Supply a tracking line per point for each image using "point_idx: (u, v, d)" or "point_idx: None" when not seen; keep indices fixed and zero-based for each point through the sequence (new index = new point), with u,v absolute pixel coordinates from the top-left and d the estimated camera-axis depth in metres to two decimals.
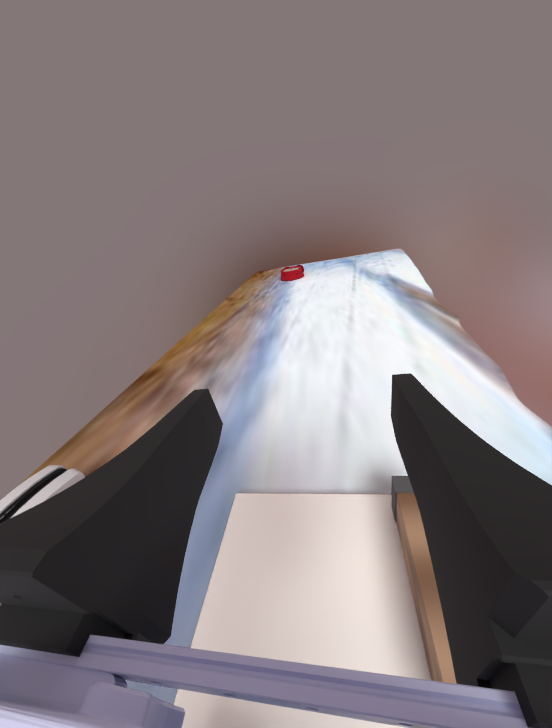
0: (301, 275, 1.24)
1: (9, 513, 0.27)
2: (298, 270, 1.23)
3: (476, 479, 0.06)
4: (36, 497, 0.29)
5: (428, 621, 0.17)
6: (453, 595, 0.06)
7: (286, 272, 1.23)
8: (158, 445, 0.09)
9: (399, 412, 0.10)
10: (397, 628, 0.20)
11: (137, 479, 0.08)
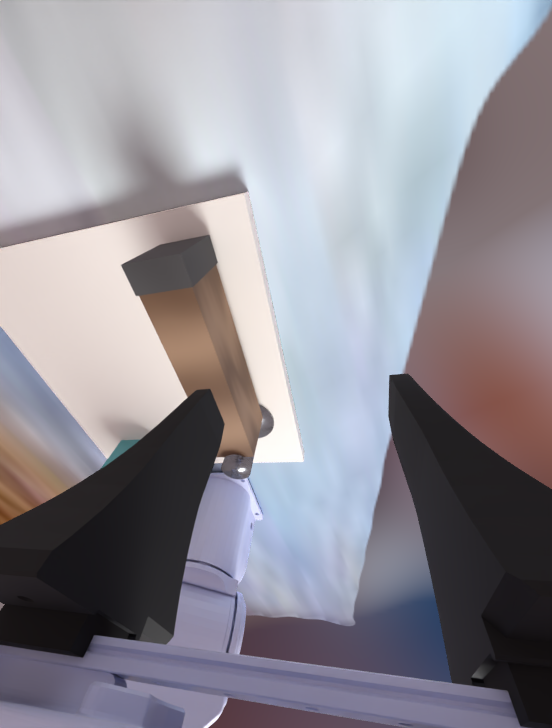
0: None
1: None
2: None
3: (471, 479, 0.06)
4: None
5: None
6: (448, 595, 0.06)
7: None
8: (161, 445, 0.09)
9: (396, 412, 0.10)
10: None
11: (140, 479, 0.08)
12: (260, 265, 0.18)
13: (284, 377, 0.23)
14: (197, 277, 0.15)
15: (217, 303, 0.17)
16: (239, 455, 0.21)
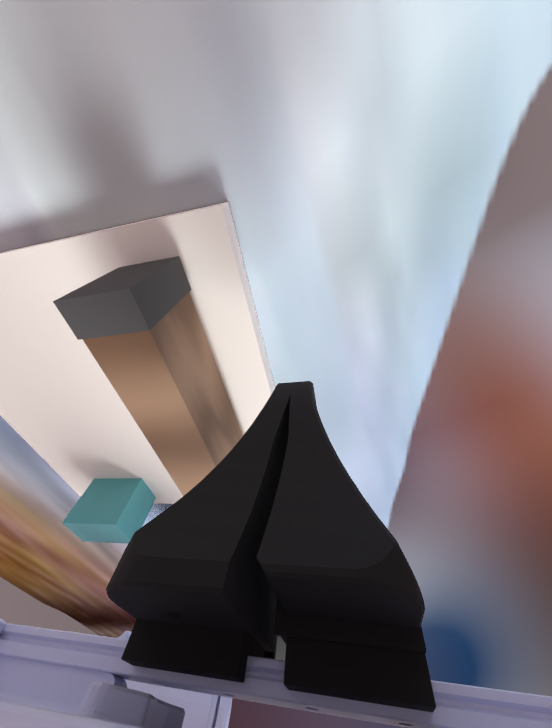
0: None
1: None
2: None
3: (298, 479, 0.06)
4: None
5: None
6: None
7: None
8: (272, 441, 0.08)
9: None
10: None
11: (265, 479, 0.07)
12: (245, 292, 0.14)
13: None
14: (157, 315, 0.11)
15: (191, 341, 0.14)
16: None
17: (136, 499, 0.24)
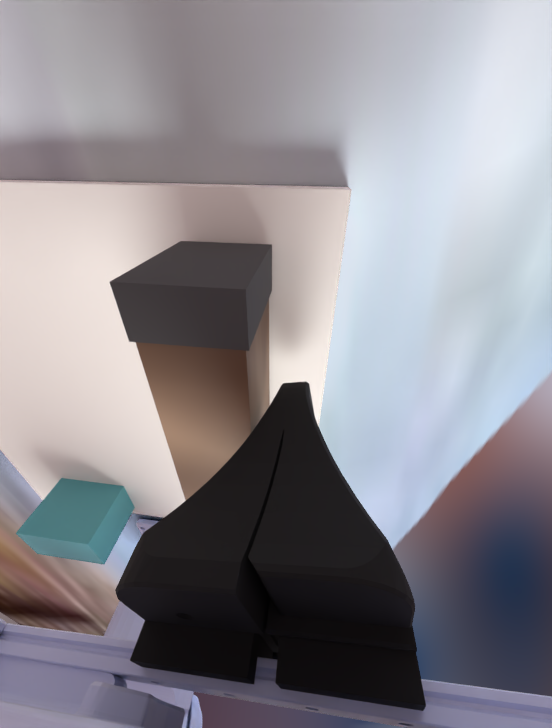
0: None
1: None
2: None
3: (292, 480, 0.06)
4: None
5: None
6: None
7: None
8: (279, 441, 0.08)
9: None
10: None
11: (273, 479, 0.07)
12: (334, 305, 0.11)
13: None
14: (255, 328, 0.08)
15: (262, 358, 0.10)
16: None
17: (114, 511, 0.20)
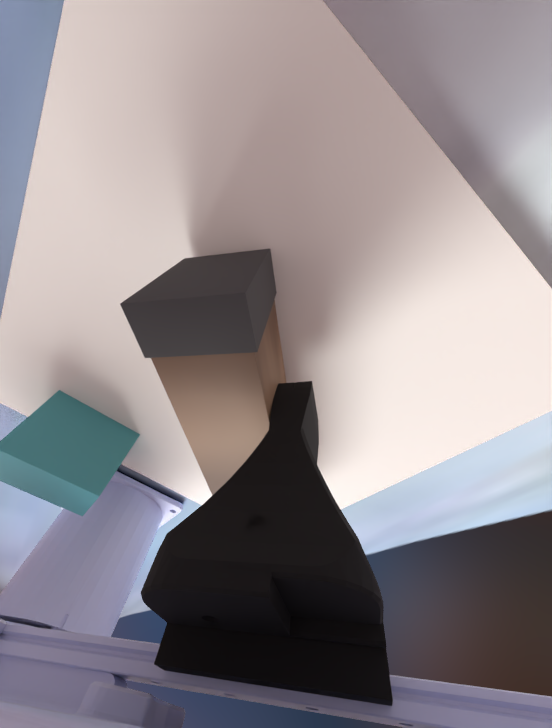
0: None
1: None
2: None
3: (272, 480, 0.06)
4: None
5: None
6: None
7: None
8: (297, 441, 0.08)
9: None
10: None
11: None
12: None
13: (373, 492, 0.18)
14: (261, 330, 0.08)
15: (275, 360, 0.11)
16: None
17: None
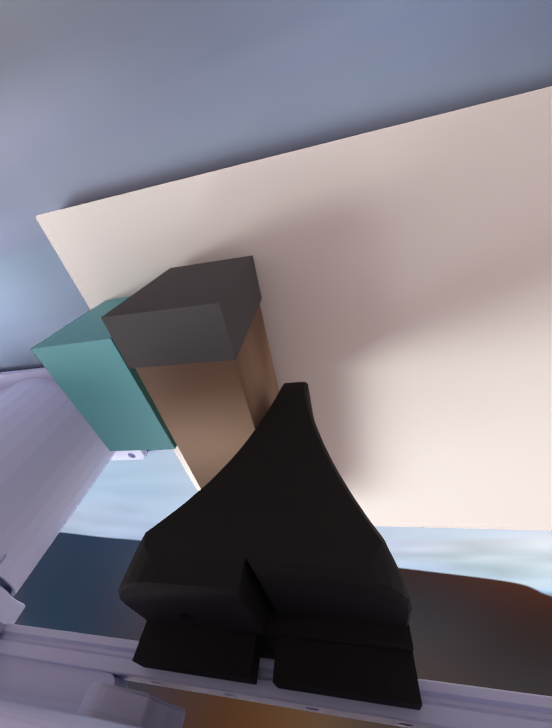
0: None
1: None
2: None
3: (290, 479, 0.06)
4: None
5: None
6: None
7: None
8: (280, 441, 0.08)
9: None
10: (379, 463, 0.16)
11: None
12: None
13: None
14: (241, 337, 0.08)
15: (262, 364, 0.11)
16: None
17: None
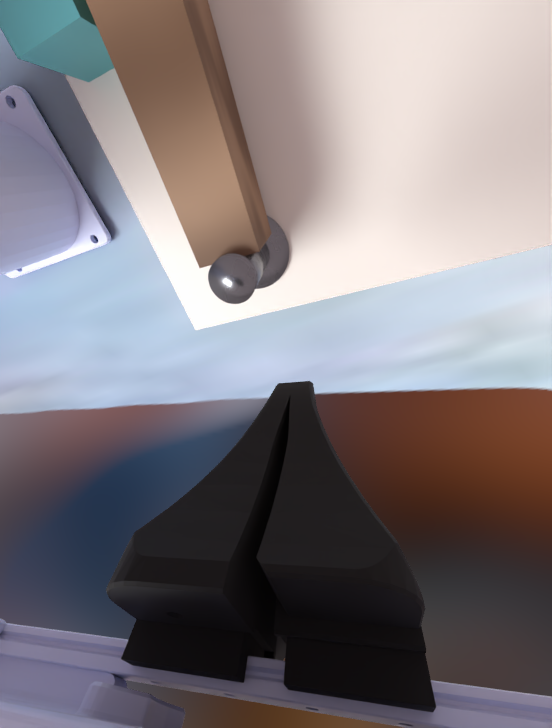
0: None
1: None
2: None
3: (298, 479, 0.06)
4: None
5: (154, 157, 0.11)
6: None
7: None
8: (272, 441, 0.08)
9: None
10: (351, 156, 0.14)
11: (265, 479, 0.07)
12: None
13: (337, 295, 0.18)
14: None
15: None
16: (235, 253, 0.13)
17: None
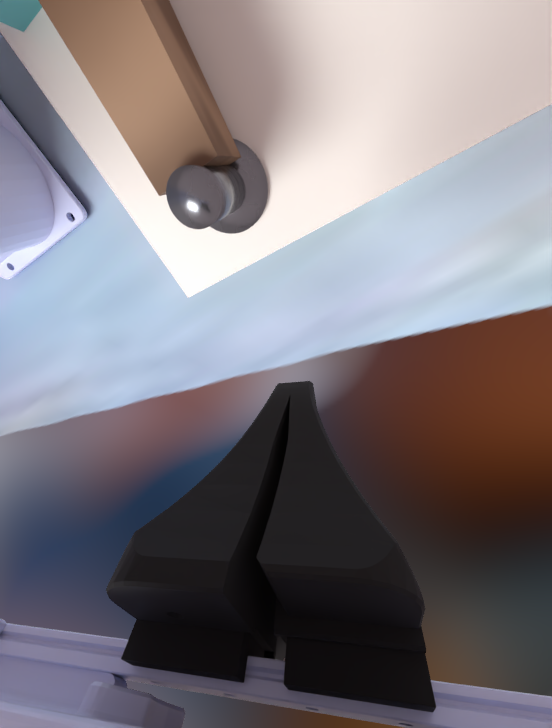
0: None
1: None
2: None
3: (298, 479, 0.06)
4: None
5: (80, 64, 0.10)
6: None
7: None
8: (272, 441, 0.08)
9: None
10: (312, 33, 0.12)
11: (265, 479, 0.07)
12: (516, 121, 0.13)
13: (331, 219, 0.16)
14: None
15: None
16: (192, 165, 0.11)
17: None
